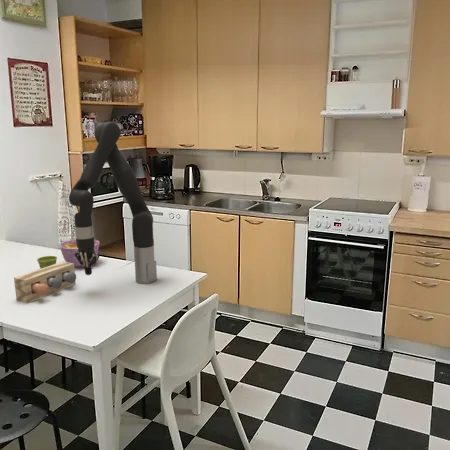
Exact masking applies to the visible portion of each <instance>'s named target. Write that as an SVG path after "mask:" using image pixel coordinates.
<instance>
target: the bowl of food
mask: <svg viewBox="0 0 450 450" xmlns="http://www.w3.org/2000/svg"><path fill="white" fill-rule="evenodd" d="M94 242H95V246H94V250H95V254H96V255H99V254H98V253H99V247H100V240H98V239H95V238H94ZM59 248H60V251H61V255H62V257H63V259H64V260H63V261H64V262H69V263H74V268H84V266H83V265H81V264H80V263H79V261H78V260H77V258H76V257H75V255H74V254H75V253H77V252H78V248H77V245H76V238H75V239H71V240H70V239H69V240H66V241H64V242H61V243H60V244H59ZM81 261H82V260H81Z"/></svg>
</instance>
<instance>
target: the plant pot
mask: <svg viewBox="0 0 450 450" xmlns="http://www.w3.org/2000/svg"><path fill="white" fill-rule="evenodd" d="M57 260H58V257H57V256H56V255H46V256H41V257H40V256H39V257H38V258H36V262H37V264H39V269H42V268H45V267H48V266H51V265H54V264H57Z"/></svg>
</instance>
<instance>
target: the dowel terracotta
mask: <svg viewBox="0 0 450 450" xmlns="http://www.w3.org/2000/svg"><path fill="white" fill-rule="evenodd" d="M31 289H32V291H34V292H38V293H39V294H40V295H46V294H47V293H48V291H49V286H48V285H47V284H44V283H43V284H38V283H32V284H31Z"/></svg>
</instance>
